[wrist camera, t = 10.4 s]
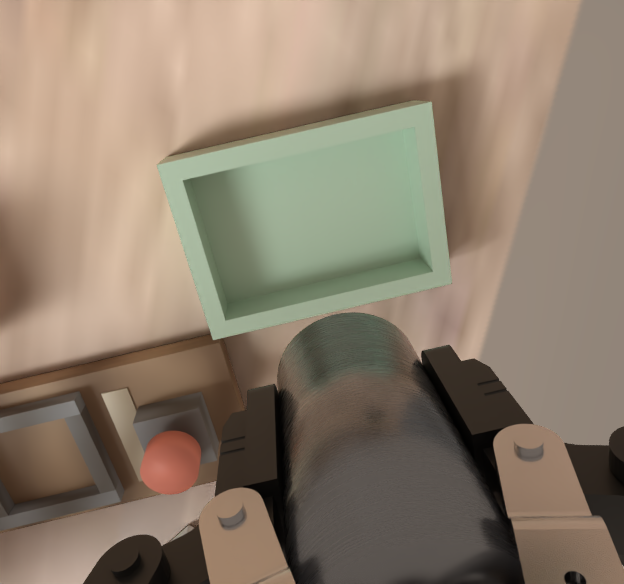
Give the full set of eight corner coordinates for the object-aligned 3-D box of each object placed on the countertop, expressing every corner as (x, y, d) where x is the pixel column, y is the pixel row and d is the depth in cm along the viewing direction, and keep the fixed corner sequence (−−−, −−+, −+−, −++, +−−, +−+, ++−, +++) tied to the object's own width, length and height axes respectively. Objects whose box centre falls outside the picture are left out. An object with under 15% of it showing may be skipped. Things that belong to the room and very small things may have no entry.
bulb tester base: (7, 516, 36) (-15, 556, 33) (-62, 398, 32) (-94, 431, 29) (259, 455, 37) (260, 489, 34) (220, 331, 33) (217, 357, 30)
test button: (155, 480, 31) (150, 499, 30) (138, 438, 30) (131, 456, 28) (207, 467, 31) (205, 486, 30) (192, 425, 30) (188, 442, 29)
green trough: (216, 317, 32) (212, 340, 29) (166, 156, 29) (156, 165, 26) (434, 266, 33) (452, 283, 30) (413, 100, 29) (431, 101, 26)
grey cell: (294, 447, 16) (322, 789, 8) (262, 331, 14) (260, 622, 7) (425, 417, 16) (573, 732, 8) (407, 298, 14) (571, 553, 6)
